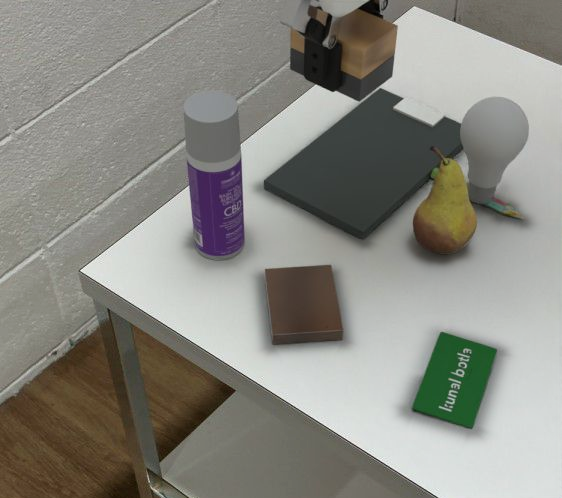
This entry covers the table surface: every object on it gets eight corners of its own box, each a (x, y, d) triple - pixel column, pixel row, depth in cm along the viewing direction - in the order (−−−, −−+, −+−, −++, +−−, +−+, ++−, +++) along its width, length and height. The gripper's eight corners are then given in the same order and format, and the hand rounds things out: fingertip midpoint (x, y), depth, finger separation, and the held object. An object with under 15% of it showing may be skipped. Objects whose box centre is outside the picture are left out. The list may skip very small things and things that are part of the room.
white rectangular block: (405, 99, 101) (405, 96, 101) (445, 116, 99) (445, 114, 99) (392, 109, 100) (393, 107, 99) (432, 127, 98) (433, 125, 97)
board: (379, 95, 103) (380, 87, 102) (474, 137, 98) (475, 129, 97) (263, 188, 93) (263, 180, 92) (362, 240, 88) (363, 232, 88)
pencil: (526, 219, 91) (376, 143, 98) (529, 210, 90) (377, 134, 97) (519, 226, 90) (368, 149, 97) (521, 217, 89) (369, 140, 96)
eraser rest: (330, 273, 86) (331, 264, 85) (342, 339, 80) (343, 330, 80) (264, 278, 85) (264, 268, 84) (272, 344, 80) (272, 335, 79)
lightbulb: (493, 178, 94) (516, 79, 86) (521, 215, 90) (547, 115, 82) (437, 188, 93) (454, 88, 85) (463, 226, 89) (484, 125, 81)
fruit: (466, 271, 86) (489, 165, 76) (404, 259, 87) (419, 153, 77) (475, 231, 89) (498, 124, 80) (415, 220, 90) (431, 113, 81)
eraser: (323, 45, 78) (325, -6, 75) (392, 76, 76) (398, 25, 72) (289, 69, 76) (290, 18, 73) (359, 102, 73) (363, 50, 70)
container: (234, 265, 86) (227, 128, 75) (186, 253, 87) (172, 116, 76) (251, 232, 89) (247, 95, 77) (205, 221, 90) (194, 84, 78)
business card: (496, 351, 80) (439, 333, 81) (497, 349, 80) (440, 331, 80) (471, 429, 75) (411, 409, 76) (472, 427, 74) (411, 407, 75)
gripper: (322, -117, 56) (313, 138, 70) (475, -202, 64) (439, 41, 78) (227, -152, 59) (237, 100, 73) (385, -228, 67) (366, 11, 81)
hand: (341, 67), depth 75 cm, fingers closed on eraser, 4 cm apart
